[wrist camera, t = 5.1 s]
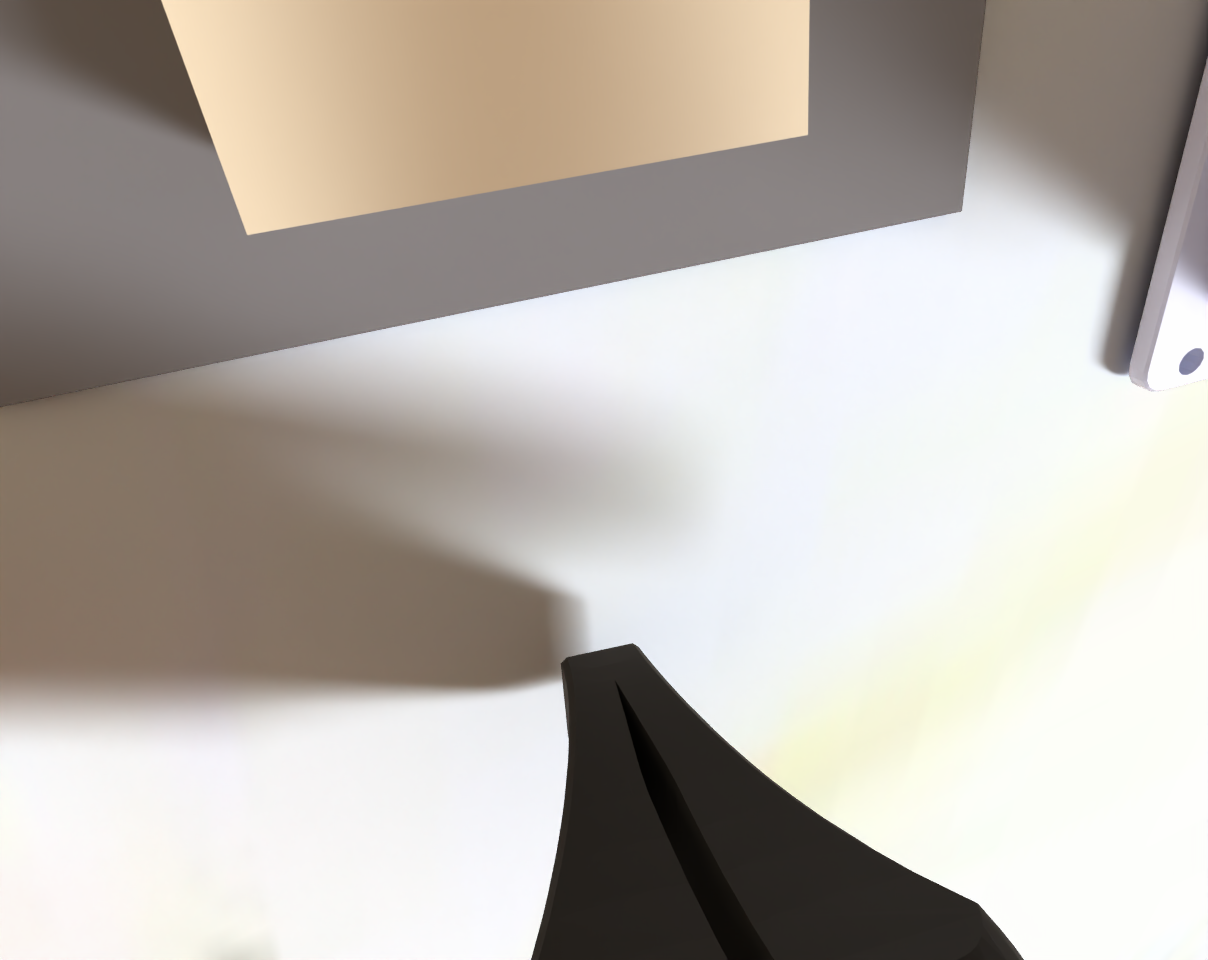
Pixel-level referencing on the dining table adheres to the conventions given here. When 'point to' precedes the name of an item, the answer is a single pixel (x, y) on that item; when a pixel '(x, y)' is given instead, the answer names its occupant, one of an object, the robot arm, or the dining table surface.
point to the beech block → (477, 93)
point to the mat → (415, 233)
